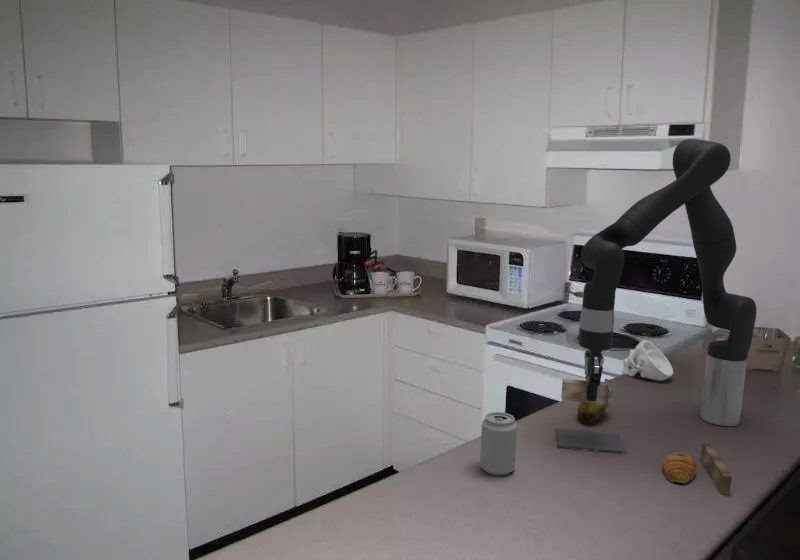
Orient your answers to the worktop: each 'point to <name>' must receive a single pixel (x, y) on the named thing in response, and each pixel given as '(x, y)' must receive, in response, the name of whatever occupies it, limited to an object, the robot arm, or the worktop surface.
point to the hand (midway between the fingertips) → (590, 398)
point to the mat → (589, 440)
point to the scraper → (578, 392)
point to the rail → (716, 468)
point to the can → (498, 443)
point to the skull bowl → (647, 362)
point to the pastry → (679, 467)
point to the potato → (590, 411)
